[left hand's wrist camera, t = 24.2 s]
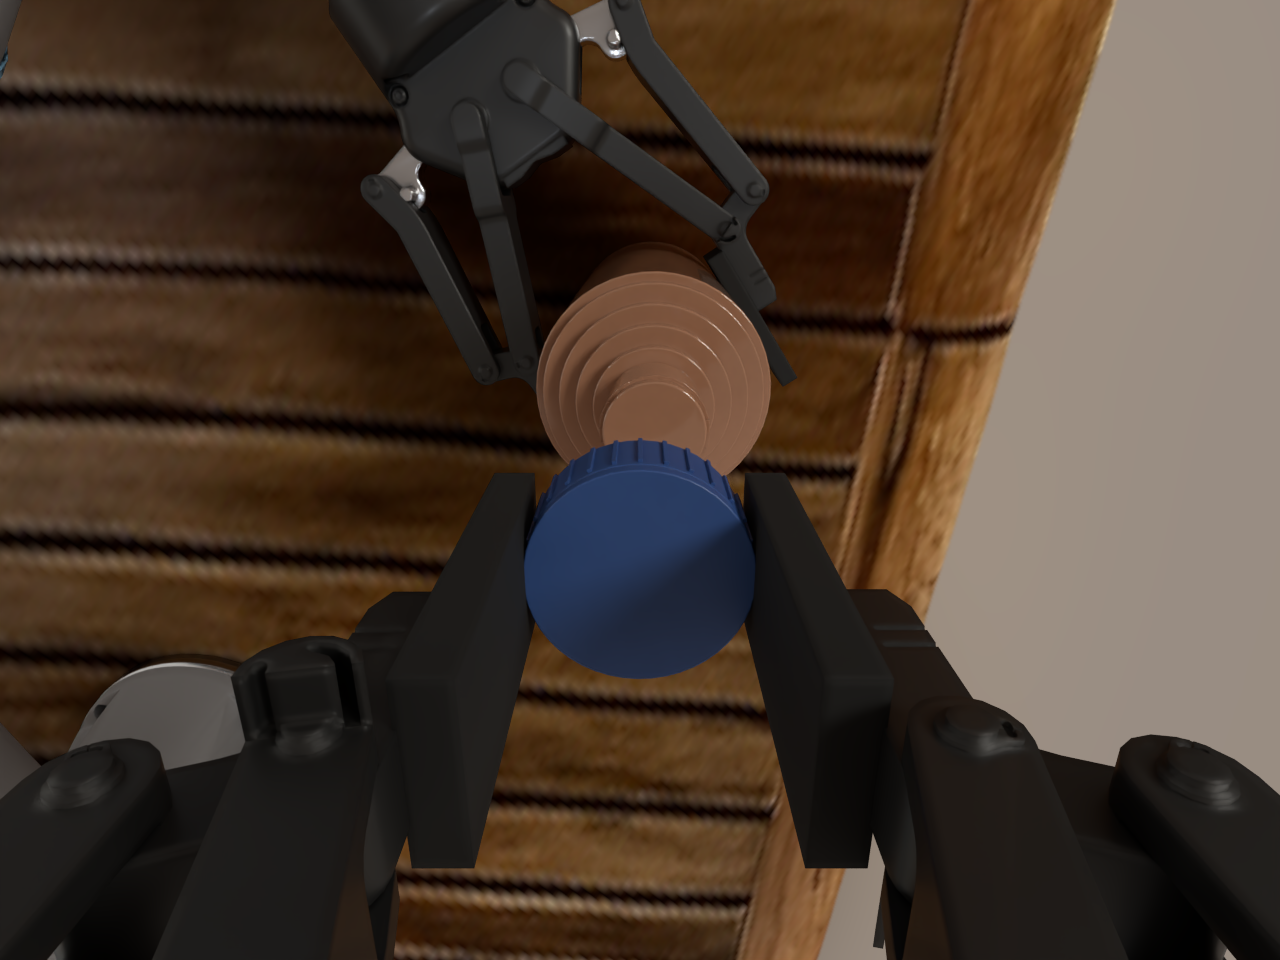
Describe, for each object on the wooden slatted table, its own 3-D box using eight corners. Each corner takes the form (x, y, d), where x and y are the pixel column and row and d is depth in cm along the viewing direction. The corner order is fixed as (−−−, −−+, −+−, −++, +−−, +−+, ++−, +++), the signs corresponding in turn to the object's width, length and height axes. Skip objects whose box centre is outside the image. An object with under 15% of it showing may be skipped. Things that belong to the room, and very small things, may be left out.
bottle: (588, 393, 42) (534, 570, 22) (570, 249, 39) (491, 302, 19) (727, 381, 41) (799, 549, 22) (719, 234, 39) (793, 274, 19)
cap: (673, 664, 16) (677, 717, 14) (493, 571, 15) (476, 616, 13) (790, 506, 14) (808, 543, 13) (600, 395, 14) (595, 420, 12)
